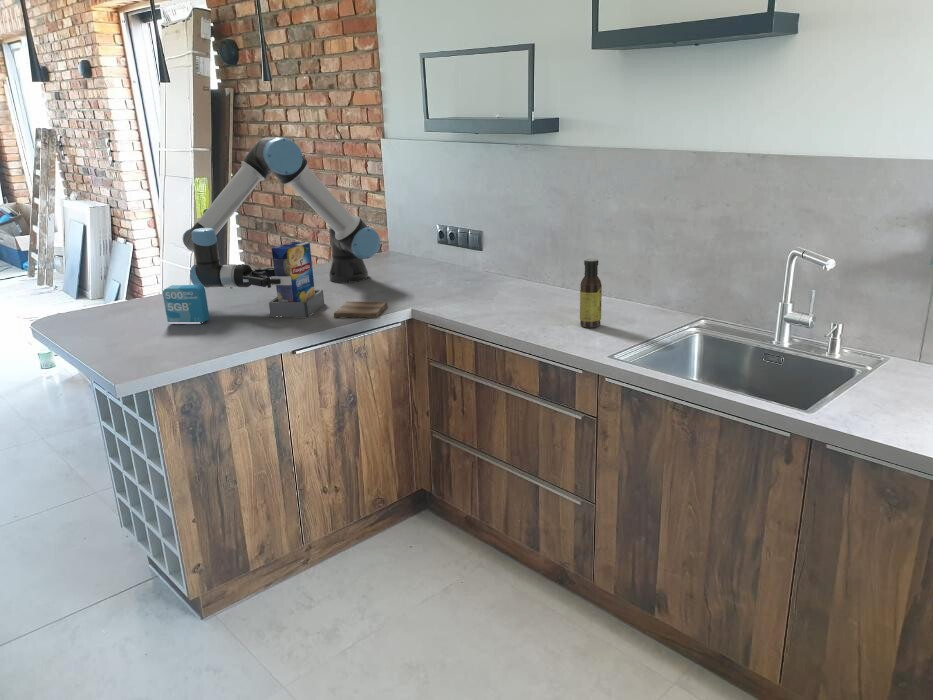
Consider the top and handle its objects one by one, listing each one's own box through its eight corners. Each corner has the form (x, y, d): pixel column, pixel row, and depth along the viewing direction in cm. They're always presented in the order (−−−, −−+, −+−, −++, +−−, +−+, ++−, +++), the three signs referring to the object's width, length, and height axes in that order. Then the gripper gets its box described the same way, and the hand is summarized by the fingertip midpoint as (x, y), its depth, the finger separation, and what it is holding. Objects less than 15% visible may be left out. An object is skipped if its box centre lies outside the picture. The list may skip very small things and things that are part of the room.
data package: (167, 325, 226) (161, 288, 222) (174, 321, 231) (167, 285, 227) (204, 324, 226) (198, 288, 222) (210, 320, 230) (204, 284, 226)
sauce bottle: (604, 327, 210) (606, 261, 203) (584, 329, 208) (585, 262, 202) (595, 321, 215) (597, 256, 209) (576, 323, 214) (577, 258, 208)
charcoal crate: (289, 303, 247) (287, 289, 245) (324, 303, 245) (322, 289, 243) (270, 317, 231) (268, 302, 229) (307, 317, 229) (306, 302, 228)
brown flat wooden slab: (346, 305, 241) (346, 301, 241) (386, 306, 240) (386, 301, 239) (334, 317, 228) (333, 313, 228) (376, 317, 227) (376, 313, 226)
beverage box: (316, 307, 241) (309, 242, 234) (295, 315, 232) (288, 249, 225) (300, 305, 244) (293, 241, 237) (279, 313, 235) (271, 247, 228)
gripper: (254, 278, 249) (312, 278, 246) (222, 296, 226) (285, 296, 223) (251, 257, 247) (310, 256, 244) (218, 273, 224) (282, 273, 221)
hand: (298, 275), depth 234 cm, fingers open, 13 cm apart
